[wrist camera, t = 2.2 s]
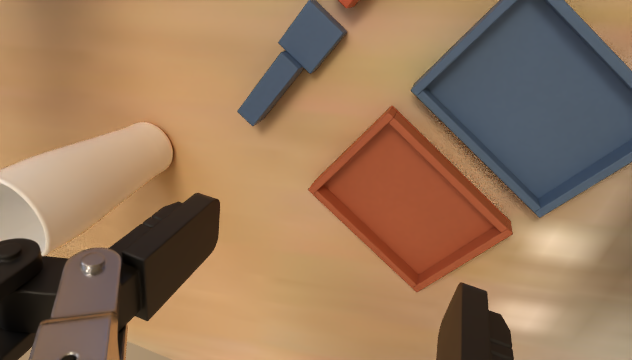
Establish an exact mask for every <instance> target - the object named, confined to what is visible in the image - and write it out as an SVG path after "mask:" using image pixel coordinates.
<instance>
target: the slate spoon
mask: <svg viewBox="0 0 632 360" xmlns="http://www.w3.org/2000/svg"><path fill="white" fill-rule="evenodd" d="M346 33H347V31H346V30H345V29H344V28H343V27H342V26H341V25H340V24H339V23H338V22H337V21H336V20H335V19H334V18H333V17H332V16H331V15H330V14H329V13H328V12H327V11H326V10H325V9H324V8H323V7H322V6H321V5H320V4H319V3H318V2H317V1H316V0H309V1H308V2H307V4H306V5H305V6H304V8H303V9H302V11H301V12H300V13H299V15H298V16H297V17H296V19H295V20H294V22H293V23H292V24H291V26H290V27H289V28H288V30H287V31H286V33H285V34H284V35H283V37H282V38H281V39H280V41H279V42H278V43H279V44H280V45H281V46H282V47H283V48H284V49H285V50H286V51H283V52H281V53H280V54H279V56H278V57H277V58H276V60H275V61H274V63H273V64H272V65H271V67H270V68H269V69H268V71H267V72H266V73H265V75H264V76H263V77H262V79H261V80H260V81H259V83H258V84H257V85H256V87H255V88H254V89H253V91H252V92H251V93H250V95H249V96H248V97H247V99H246V100H245V101H244V103H243V104H242V105H241V107H240V108H239V110H238V111H237V112H238V113H239V114H240V115H241V116H242V117H243V118H244V119H245V120H247V121H248V122H249V123H250V124H251V125H252V126H254V125H256V124H257V123H259V122H260V121H261V120H263V119H264V118H265V116H266V115H267V114H268V113H269V111H270V110H271V109H272V108H273V106H274V105H275V104H276V103H277V102H278V100H279V99H280V98H281V97H282V95H283V94H284V93H285V92H286V90H287V89H288V88H289V87H290V85H291V84H292V83H293V82H294V80H295V79H296V78H297V77H298V75H299V74H300V73H301V72H302V70H303V69H306V70H307V71H308V72H309V73H310V74H311V73H312V72H314V71H316V69H317V68H318V67H319V66H320V65H321V63H322V62H323V61H324V60H325V58H326V57H327V56H328V55H329V54H330V52H331V51H332V50H333V49H334V48H335V46H336V45H337V44H338V43H339V42H340V40H341V39H342V38H343V37H344V36H345V34H346Z"/></svg>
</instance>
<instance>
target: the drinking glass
mask: <svg viewBox="0 0 632 360" xmlns="http://www.w3.org/2000/svg"><path fill="white" fill-rule="evenodd" d="M172 159H173V149H172V145H171V142H170V140H169V138H168V137H167V135H166V134H165V133H164V132H163V131H162V130H161V129H160V128H159V127H157V126H155V125H154V124H151V123H148V122H138V123H134V124H132V125H129V126H127V127H125V128H122V129H119V130H116V131H113V132H109V133H106V134H103V135H100V136H96V137H93V138H90V139H87V140H83V141H80V142H77V143H73V144H70V145H67V146H63V147H60V148H57V149H53V150H50V151H47V152H44V153H41V154H38V155H35V156H32V157H30V158H27V159H24V160H22V161H19V162H17V163H14V164H12V165H10V166H7V167H5V168H3V169H1V170H0V241H3V240H8V239H14V238H25V239H30V240H33V241H35V242H37V243H38V245H39V246H40V250H41V255H42V256H46V255H48V254H49V253H51V252H53V251H55V250H56V249H58V248H60V247H61V246H63V245H65V244H66V243H68V242H70V241H71V240H73V239H74V238H76V237H77V236H79V235H80V234H82V233H83V232H85V231H86V230H88V229H89V228H90V227H92V226H93V225H94V224H96V223H97V222H98V221H99V220H101V219H102V218H103V217H104V216H106V215H107V214H108V213H109V212H111V211H112V210H113V209H114V208H116V207H117V206H118V205H119V204H121V203H122V202H123V201H125V200H126V199H127V198H128V197H130V196H131V195H132V194H133V193H135V192H136V191H137V190H138V189H140V188H141V187H142V186H144V185H145V184H146V183H147V182H149V181H150V180H151V179H153V178H154V177H155V176H157V175H158V174H160V173H162V172H163V171H165V170H166V169H167V168H168V167H169V166H170V164H171V162H172Z"/></svg>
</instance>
